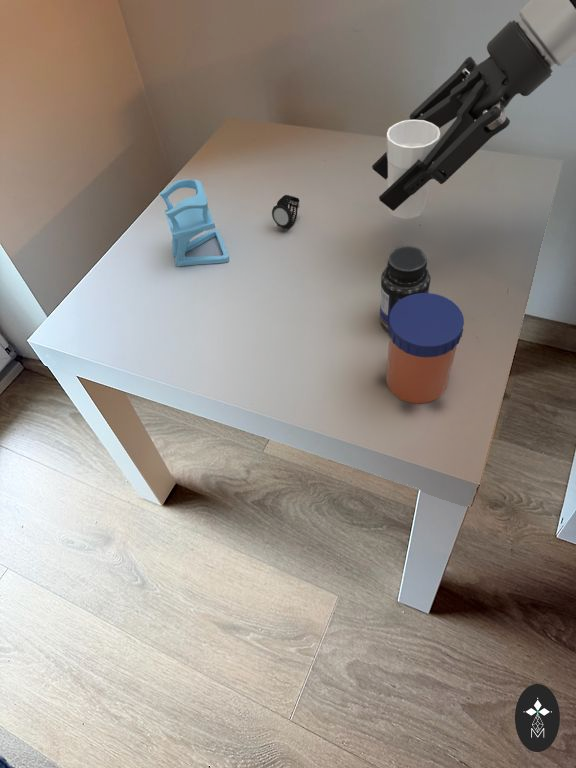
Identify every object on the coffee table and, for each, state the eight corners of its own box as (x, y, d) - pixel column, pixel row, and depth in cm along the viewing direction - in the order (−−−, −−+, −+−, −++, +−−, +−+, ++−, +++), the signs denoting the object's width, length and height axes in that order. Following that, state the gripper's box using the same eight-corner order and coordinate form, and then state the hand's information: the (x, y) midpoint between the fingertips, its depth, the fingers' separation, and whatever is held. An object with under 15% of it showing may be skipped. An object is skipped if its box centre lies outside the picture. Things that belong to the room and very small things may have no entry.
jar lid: (475, 325, 60) (479, 313, 59) (434, 369, 57) (436, 358, 56) (415, 294, 64) (417, 282, 62) (373, 334, 61) (374, 323, 59)
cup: (430, 193, 78) (440, 119, 69) (430, 222, 74) (440, 147, 65) (384, 193, 79) (387, 120, 70) (381, 222, 75) (385, 148, 66)
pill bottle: (431, 313, 74) (442, 250, 65) (412, 343, 71) (421, 281, 62) (390, 298, 76) (395, 236, 68) (370, 327, 74) (373, 265, 65)
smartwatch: (270, 226, 89) (266, 200, 85) (295, 213, 90) (292, 186, 86) (285, 238, 87) (282, 211, 83) (310, 224, 88) (308, 197, 84)
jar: (459, 375, 68) (475, 317, 59) (424, 414, 65) (435, 359, 56) (409, 346, 71) (417, 287, 63) (373, 382, 68) (376, 325, 60)
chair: (170, 246, 88) (148, 181, 79) (218, 232, 89) (202, 166, 79) (178, 276, 84) (156, 211, 74) (230, 261, 85) (214, 195, 75)
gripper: (583, 108, 56) (412, 247, 70) (527, 31, 68) (390, 163, 82) (546, 60, 52) (372, 218, 66) (493, -14, 64) (355, 134, 78)
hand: (382, 187), depth 74 cm, fingers closed on cup, 7 cm apart
